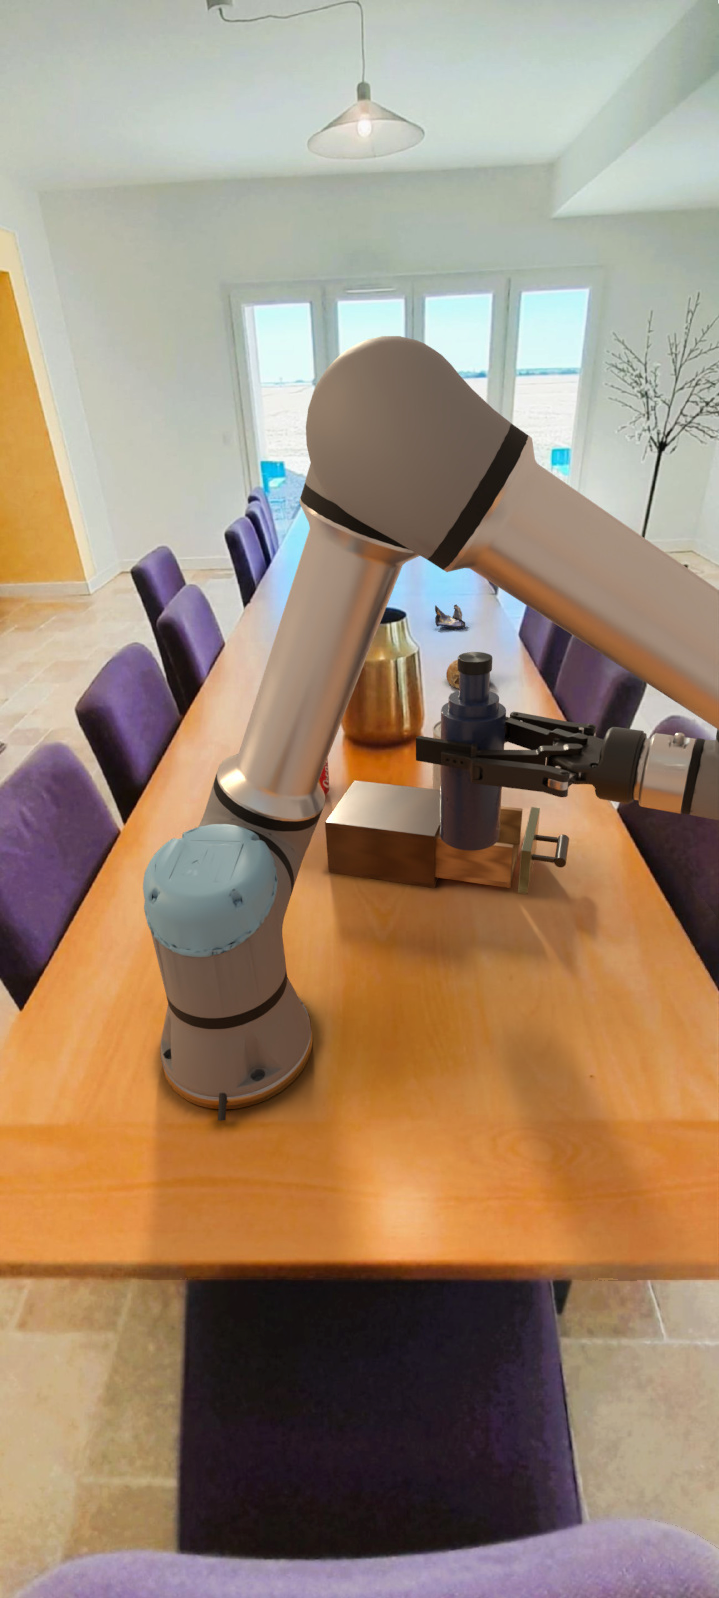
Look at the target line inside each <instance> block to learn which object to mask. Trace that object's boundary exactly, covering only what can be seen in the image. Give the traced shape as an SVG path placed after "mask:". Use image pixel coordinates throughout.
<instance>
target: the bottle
mask: <svg viewBox="0 0 719 1598" xmlns="http://www.w3.org/2000/svg"><path fill="white" fill-rule="evenodd" d="M457 660H458V671H459V688H458V690H455V691H454V692H452V693H450V694H449V696H448V702H446V703H444V704H443V705H442V706H441V709H440V721H441V739H443V740H449V741H455V742H461V743H467V744H473V743H477V749H479V750H505V744H504V741H505V722H506V717H507V708H506V707H505V706H504V704H503V703H500V696H499V694H498V693H496V692H494V691H492V690H490V683H491V682H490V680H491V679H490V678H491V672H492V671H493V656H492V655H491V654H490V653H488V652H487V653H486V652H482V651H470V652H469V651H468V652H464V653H461V654H458V656H457ZM502 792H503V787H499V786H491V785H483V784H475V783H472V782H471V773H470V771H469V770H466V769H461V768H455V767H449V766H444V765H441V774H440V837H441V839H442V840H443V842H444V843H446V844H447V845H449V846H451V847H453V848H456V849H460V850H468V851H474V850H482V849H486V848H489V847H491V846H493V845H494V844H495V843H496V842H497V841H498V839H499V831H500V813H501V806H502V794H503V793H502Z"/></svg>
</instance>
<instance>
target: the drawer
mask: <svg viewBox="0 0 719 1598" xmlns="http://www.w3.org/2000/svg"><path fill="white" fill-rule="evenodd" d="M523 811H524V810H523V807H514V806H513V807H512V806H504V805H501V813H500V831H499V839H498V841H497V842H496V843H495V844H494V845H493V846H491V847H489V848H486V849H482V850H474V851H468V850H460V849H456V848H453V847H451V846H449V845H447V844H446V843H444V842H443V840H442V839H441V837H440V829H439V831H438V833H437V836H436V844H435V877H438V879H439V878H440V879H446V880H453V881H459V882H466V883H472V884H479V885H487V886H493V887H500V888H506V889H510V888H511V885H512V881H513V877H514V873H515V869H516V865H517V860H518V855H519V853H520V861H519V873H518V874H519V875H518V887H517V893H518V894H523V895H528V893H529V887H530V883H531V878H532V873H533V867H534V863H535V861H537V862H544V863H550V864H551V863H552V864H554V866H556V867H557V868H564V867H565V866H566V865H567V859H568V851H569V844H570V838H569V836H568V835H566V834H560V835H558V837H557V836H550V835H542V834H539V826H540V825H539V823H540V814H541V813H540V812H541V808H540V807H535V806H531V807H530V811H529V814H528V815H529V816H528V818H527V819H528V821H527V824H526V828H525V832H524V837H523V842H522V845H521V835H522V825H523V824H522V821H523ZM538 841H539V842H547V843H554V844H556V847H555V853H554V856H549V855H541V854H536V852H537V847H538ZM520 848H521V850H520Z"/></svg>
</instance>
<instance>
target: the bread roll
mask: <svg viewBox="0 0 719 1598" xmlns="http://www.w3.org/2000/svg"><path fill="white" fill-rule="evenodd" d="M445 677H446V681H447V683H448V684H449V685H450V686H451V687H453V688H455V689H458V690H459V671H458V659H456V660H453V661H452V662H451V663H450V664H449V665H448V666H447V669H446V676H445Z"/></svg>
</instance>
